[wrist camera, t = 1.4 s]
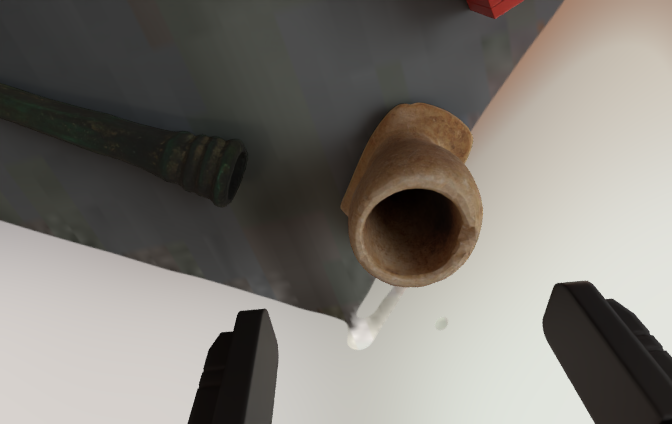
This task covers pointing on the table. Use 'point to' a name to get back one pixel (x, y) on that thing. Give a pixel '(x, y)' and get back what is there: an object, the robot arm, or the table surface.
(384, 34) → the table surface
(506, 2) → the open red box
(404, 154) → the stone cup
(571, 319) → the robot arm
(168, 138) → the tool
